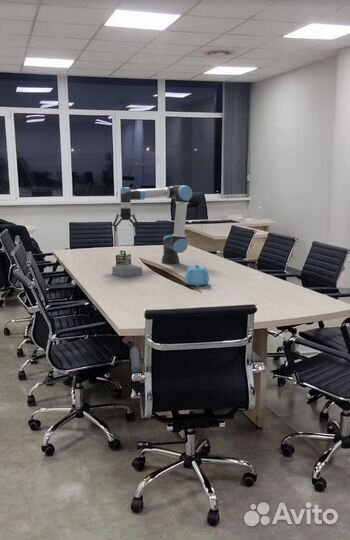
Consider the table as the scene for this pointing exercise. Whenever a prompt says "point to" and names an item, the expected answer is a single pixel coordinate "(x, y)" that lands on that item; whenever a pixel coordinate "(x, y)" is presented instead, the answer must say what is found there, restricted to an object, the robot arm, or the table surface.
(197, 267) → the decorative pot
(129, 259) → the chalk box
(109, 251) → the table surface
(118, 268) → the grey base brick
